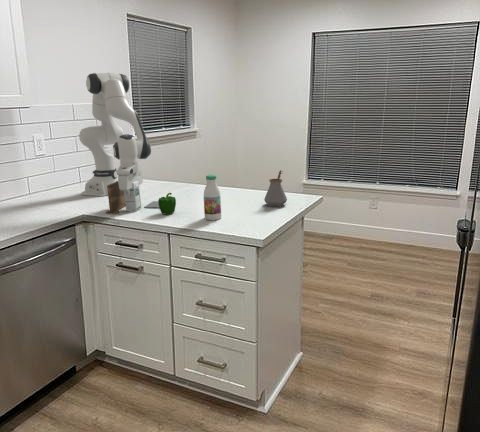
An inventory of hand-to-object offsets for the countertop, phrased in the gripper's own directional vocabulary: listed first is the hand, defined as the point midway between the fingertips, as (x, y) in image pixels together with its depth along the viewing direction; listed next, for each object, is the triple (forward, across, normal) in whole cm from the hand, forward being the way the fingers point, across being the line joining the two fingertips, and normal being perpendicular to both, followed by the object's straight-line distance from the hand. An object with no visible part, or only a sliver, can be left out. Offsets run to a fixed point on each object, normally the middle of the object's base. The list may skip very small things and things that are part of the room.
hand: (132, 196), depth 225 cm
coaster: (+7, -10, +10) cm, 16 cm away
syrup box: (+7, 0, 0) cm, 7 cm away
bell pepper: (+8, +5, +20) cm, 22 cm away
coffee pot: (+8, -21, +70) cm, 73 cm away
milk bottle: (+8, +11, +44) cm, 46 cm away
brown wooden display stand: (+7, 0, -8) cm, 11 cm away
